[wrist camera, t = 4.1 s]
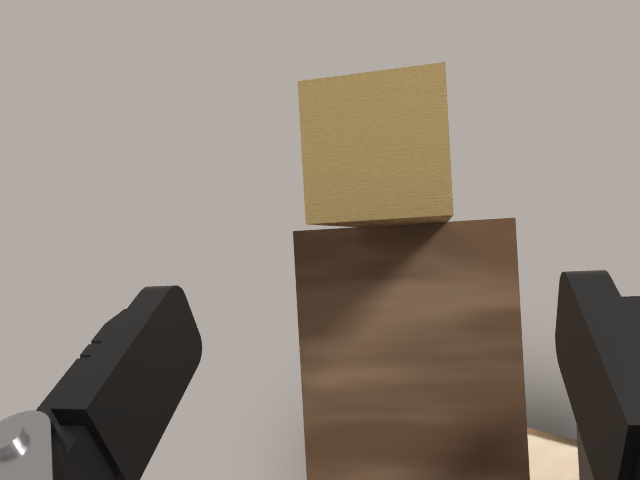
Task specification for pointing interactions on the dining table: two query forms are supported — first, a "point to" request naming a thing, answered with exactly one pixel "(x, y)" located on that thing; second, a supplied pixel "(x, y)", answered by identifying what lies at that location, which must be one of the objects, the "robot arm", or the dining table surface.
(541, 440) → the dining table surface
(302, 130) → the gold studded block
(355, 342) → the stand
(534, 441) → the dining table surface
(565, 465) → the dining table surface
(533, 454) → the dining table surface
